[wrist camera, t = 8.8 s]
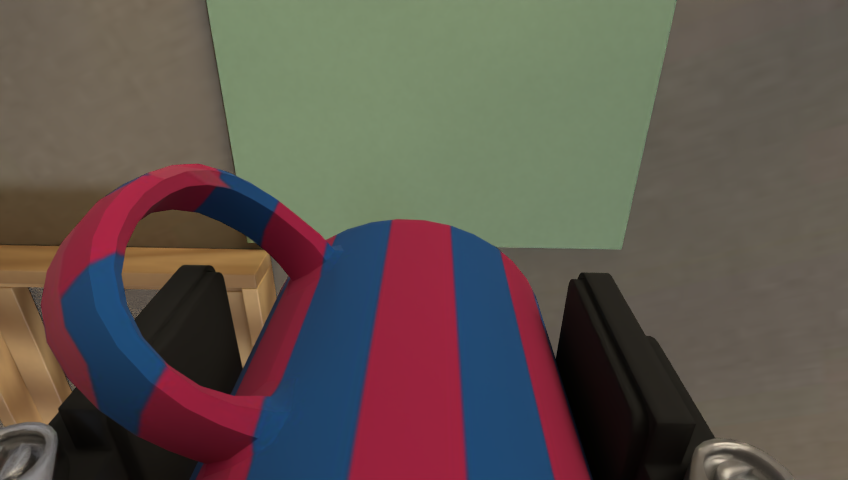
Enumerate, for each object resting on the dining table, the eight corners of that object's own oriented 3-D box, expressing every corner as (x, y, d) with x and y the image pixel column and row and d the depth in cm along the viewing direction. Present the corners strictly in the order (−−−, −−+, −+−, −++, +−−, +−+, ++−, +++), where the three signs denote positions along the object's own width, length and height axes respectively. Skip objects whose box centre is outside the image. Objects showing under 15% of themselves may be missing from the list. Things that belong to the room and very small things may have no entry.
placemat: (199, -52, 20) (197, -53, 20) (683, -46, 20) (687, -46, 20) (249, 240, 26) (247, 242, 26) (619, 246, 26) (621, 249, 26)
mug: (359, 455, 15) (309, 779, 9) (128, 167, 11) (-249, 408, 5) (576, 382, 14) (691, 712, 7) (405, 16, 9) (351, 97, 3)
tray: (-37, 243, 26) (-80, 268, 24) (269, 249, 26) (254, 274, 24) (71, 474, 35) (46, 508, 32) (304, 479, 35) (295, 514, 32)
